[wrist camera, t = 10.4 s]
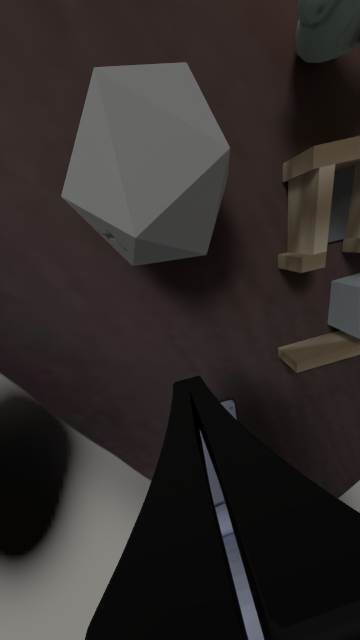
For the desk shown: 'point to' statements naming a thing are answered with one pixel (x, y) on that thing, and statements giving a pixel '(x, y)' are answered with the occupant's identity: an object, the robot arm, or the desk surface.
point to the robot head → (327, 29)
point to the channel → (321, 233)
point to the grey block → (345, 305)
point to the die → (148, 162)
